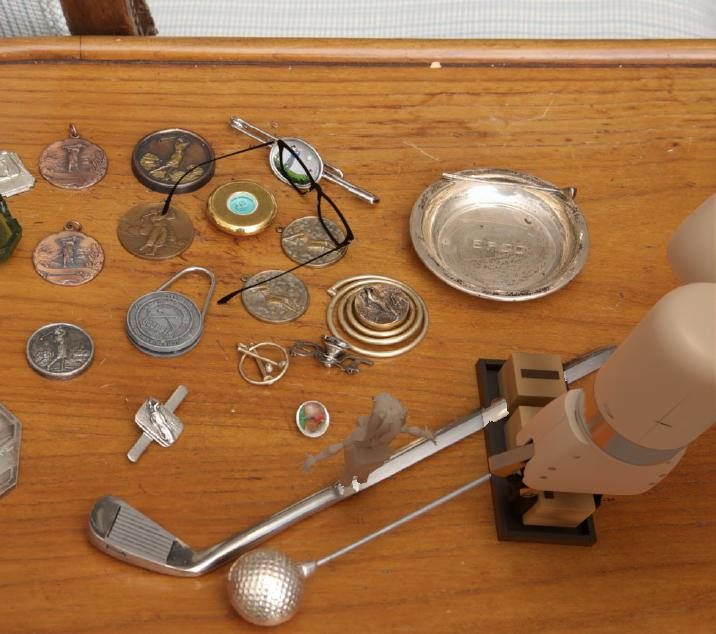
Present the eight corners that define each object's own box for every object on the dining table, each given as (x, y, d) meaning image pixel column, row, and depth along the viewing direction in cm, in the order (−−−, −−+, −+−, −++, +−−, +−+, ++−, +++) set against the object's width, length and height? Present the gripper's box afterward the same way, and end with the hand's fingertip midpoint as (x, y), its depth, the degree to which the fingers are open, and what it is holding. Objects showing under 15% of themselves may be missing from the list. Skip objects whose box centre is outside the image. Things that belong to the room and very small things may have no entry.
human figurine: (402, 459, 85) (455, 367, 70) (417, 497, 83) (476, 410, 68) (278, 487, 84) (305, 399, 68) (290, 526, 82) (321, 445, 66)
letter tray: (557, 371, 90) (564, 362, 88) (589, 548, 81) (597, 542, 79) (473, 366, 90) (478, 357, 89) (495, 542, 81) (502, 536, 80)
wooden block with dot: (551, 429, 86) (570, 407, 82) (558, 474, 84) (578, 454, 80) (502, 426, 86) (519, 404, 82) (509, 471, 84) (526, 450, 80)
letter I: (543, 377, 89) (561, 353, 85) (550, 419, 87) (569, 397, 83) (496, 374, 89) (512, 350, 85) (502, 416, 87) (519, 394, 83)
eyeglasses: (356, 260, 97) (363, 237, 93) (225, 317, 93) (228, 296, 90) (277, 154, 104) (281, 129, 101) (153, 203, 101) (153, 179, 97)
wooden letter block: (567, 479, 82) (587, 458, 78) (575, 527, 80) (597, 509, 76) (516, 476, 82) (534, 455, 78) (523, 524, 80) (542, 506, 76)
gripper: (743, 372, 67) (634, 467, 83) (510, 359, 68) (445, 455, 83) (772, 468, 63) (652, 548, 79) (524, 453, 64) (453, 536, 79)
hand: (546, 500), depth 81 cm, fingers closed on wooden letter block, 4 cm apart
